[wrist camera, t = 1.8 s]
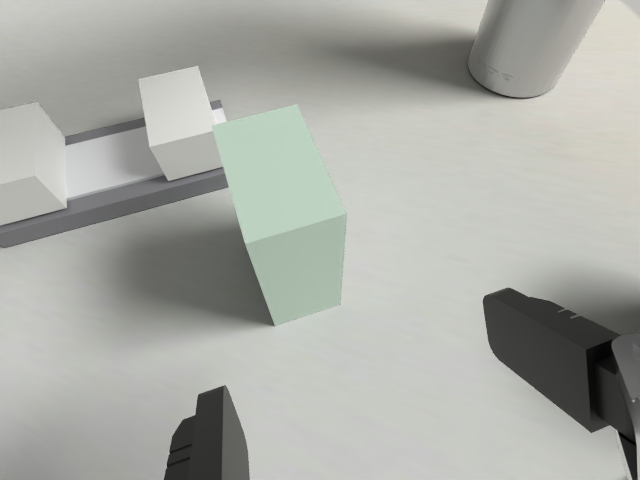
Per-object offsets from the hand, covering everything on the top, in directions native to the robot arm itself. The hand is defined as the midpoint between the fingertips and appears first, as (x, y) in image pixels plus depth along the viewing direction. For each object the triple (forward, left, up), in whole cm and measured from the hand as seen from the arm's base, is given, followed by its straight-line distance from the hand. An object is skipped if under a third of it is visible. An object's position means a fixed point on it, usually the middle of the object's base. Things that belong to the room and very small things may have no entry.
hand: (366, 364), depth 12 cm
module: (-4, -11, -16) cm, 20 cm away
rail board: (+2, -28, -16) cm, 32 cm away
